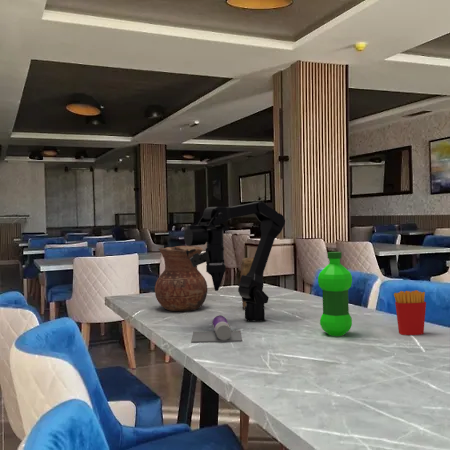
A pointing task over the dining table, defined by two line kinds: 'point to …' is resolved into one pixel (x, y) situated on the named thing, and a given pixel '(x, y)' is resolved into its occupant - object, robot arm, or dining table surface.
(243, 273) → the block
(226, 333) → the container
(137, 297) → the dining table surface
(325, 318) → the plastic bottle
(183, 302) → the jug
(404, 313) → the french fries
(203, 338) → the mat
